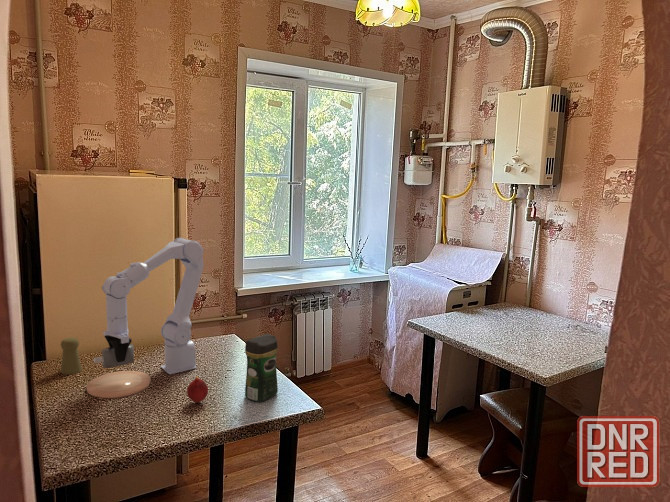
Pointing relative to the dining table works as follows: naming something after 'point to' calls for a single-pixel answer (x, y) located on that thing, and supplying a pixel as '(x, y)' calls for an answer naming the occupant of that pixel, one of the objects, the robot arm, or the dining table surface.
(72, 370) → the cork
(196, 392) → the onion
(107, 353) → the connector
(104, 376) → the plate
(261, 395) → the coffee jar
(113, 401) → the dining table surface
